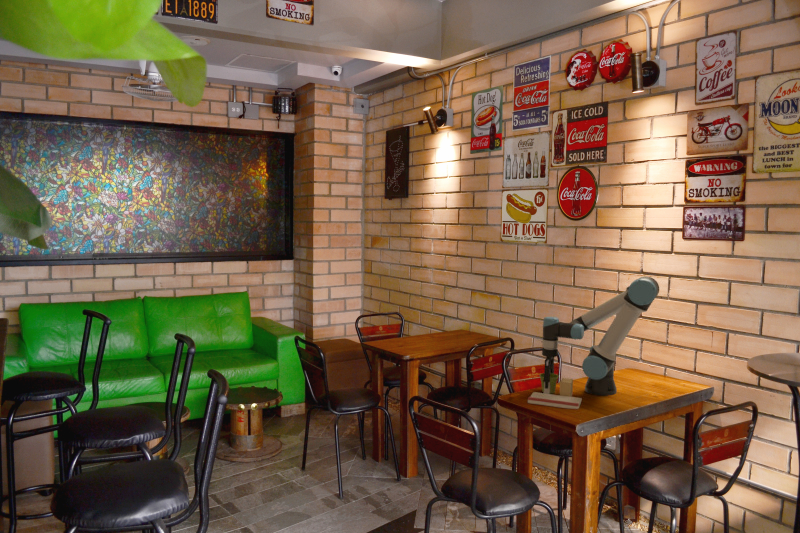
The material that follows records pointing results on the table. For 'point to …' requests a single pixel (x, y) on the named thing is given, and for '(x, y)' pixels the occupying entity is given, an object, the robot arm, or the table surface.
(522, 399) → the table surface
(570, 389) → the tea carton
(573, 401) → the shelf board
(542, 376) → the plant pot
